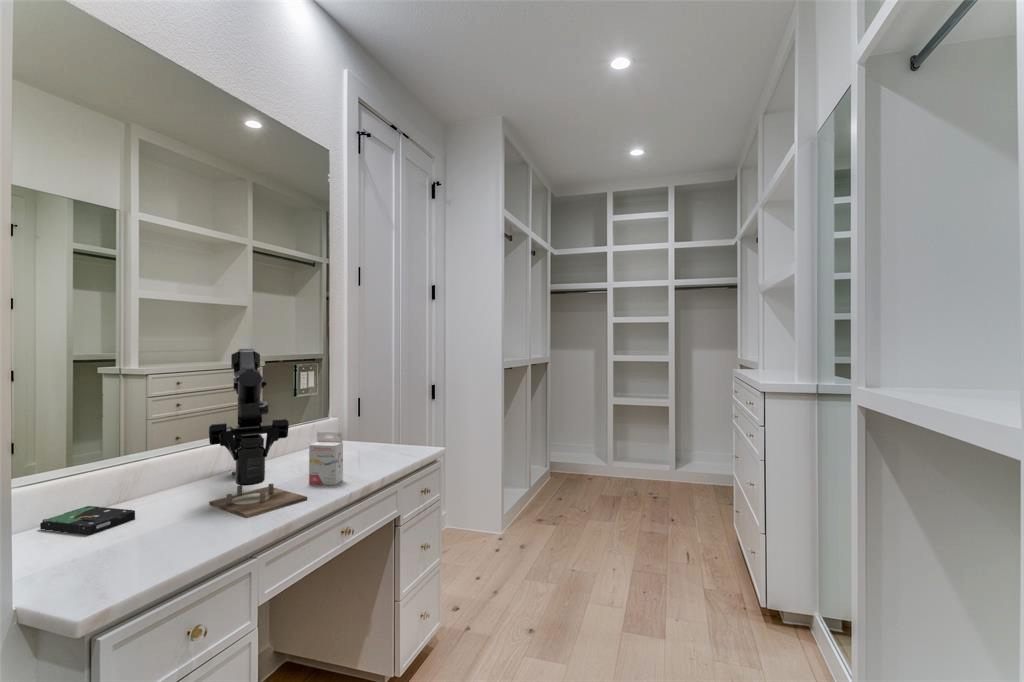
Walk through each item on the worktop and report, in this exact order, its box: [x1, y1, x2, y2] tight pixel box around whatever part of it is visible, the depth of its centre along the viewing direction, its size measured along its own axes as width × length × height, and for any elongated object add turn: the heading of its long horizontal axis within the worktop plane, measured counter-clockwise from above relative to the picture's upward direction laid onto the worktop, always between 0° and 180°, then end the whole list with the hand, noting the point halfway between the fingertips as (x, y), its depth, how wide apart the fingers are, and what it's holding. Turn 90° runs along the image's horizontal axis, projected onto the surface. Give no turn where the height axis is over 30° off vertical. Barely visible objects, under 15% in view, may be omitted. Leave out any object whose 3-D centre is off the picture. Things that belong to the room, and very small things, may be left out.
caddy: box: [208, 483, 308, 519], centre depth 128 cm, size 18×16×3 cm
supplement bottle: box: [235, 434, 266, 487], centre depth 128 cm, size 7×7×12 cm
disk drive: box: [39, 505, 136, 536], centre depth 113 cm, size 10×3×15 cm
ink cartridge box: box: [308, 431, 344, 486], centre depth 146 cm, size 9×5×15 cm, turn 84°
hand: (250, 457), depth 127 cm, fingers closed on supplement bottle, 7 cm apart
